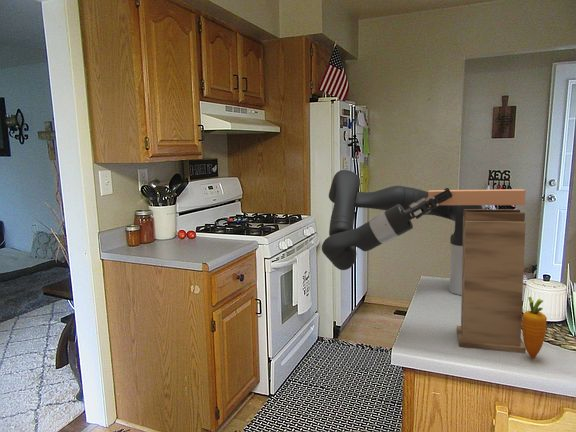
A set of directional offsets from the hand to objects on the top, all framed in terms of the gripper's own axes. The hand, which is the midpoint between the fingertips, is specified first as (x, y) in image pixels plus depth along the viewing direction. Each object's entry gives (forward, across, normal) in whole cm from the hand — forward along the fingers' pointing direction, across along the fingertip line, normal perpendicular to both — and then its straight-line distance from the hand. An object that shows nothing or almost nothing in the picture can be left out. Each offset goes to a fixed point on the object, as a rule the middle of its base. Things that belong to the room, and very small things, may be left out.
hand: (450, 191), depth 109 cm
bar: (+3, 0, +6) cm, 7 cm away
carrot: (-4, -8, +43) cm, 44 cm away
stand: (-11, 0, +39) cm, 40 cm away
